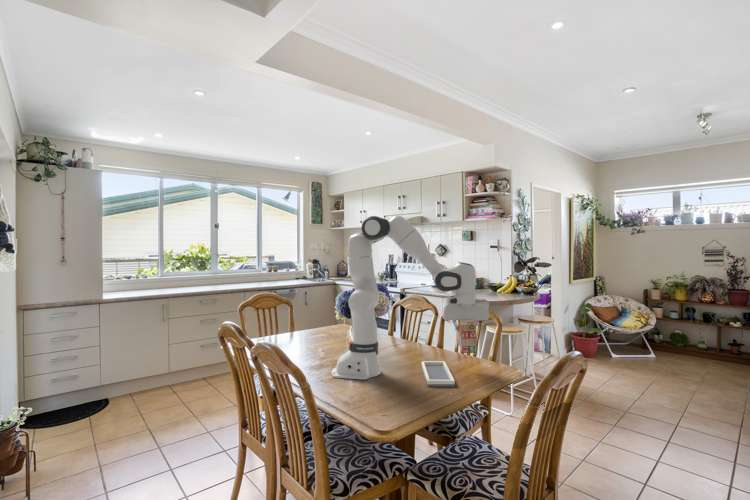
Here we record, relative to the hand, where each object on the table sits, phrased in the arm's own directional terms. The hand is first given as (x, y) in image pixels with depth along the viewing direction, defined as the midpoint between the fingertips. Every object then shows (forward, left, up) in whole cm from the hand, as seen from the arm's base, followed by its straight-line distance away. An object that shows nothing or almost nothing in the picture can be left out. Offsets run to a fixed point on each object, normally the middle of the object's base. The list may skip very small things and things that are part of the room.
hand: (465, 330), depth 163 cm
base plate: (-13, 0, -20) cm, 24 cm away
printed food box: (0, 0, -7) cm, 7 cm away
